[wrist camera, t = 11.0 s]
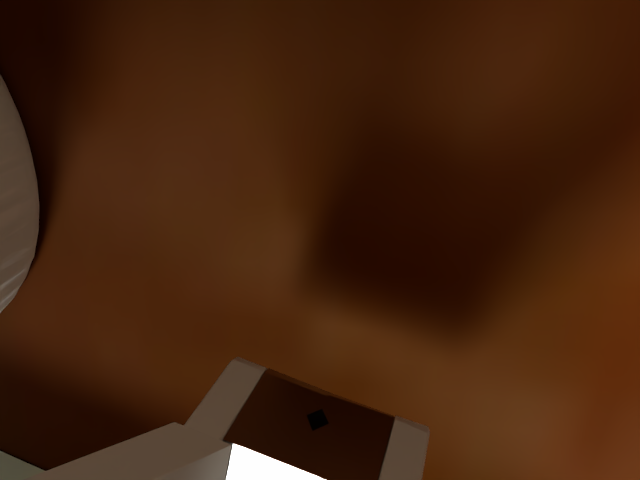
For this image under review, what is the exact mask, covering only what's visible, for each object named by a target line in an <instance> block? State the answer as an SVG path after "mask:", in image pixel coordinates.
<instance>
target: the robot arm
mask: <svg viewBox="0 0 640 480" xmlns="http://www.w3.org/2000/svg"><path fill="white" fill-rule="evenodd" d="M429 435H430V431H429V428H428V426H425V425H422V424H419V423H416V422H413V421H410V420H407V419H404V418H401V417H399V416H396V415H395V417H394V416H393V415H391V414H388V413H385V412H382V411H379V410H377V409H374V408H371V407H368V406H366V405H363V404H360V403H357V402H355V401H352V400H349V399H346V398H344V397H341V396H338V395H335V394H333V393H330V392H328V391H325V390H323V389H320V388H318V387H315V386H313V385H310V384H307V383H305V382H302V381H300V380H297V379H295V378H292V377H290V376H287V375H285V374H282V373H280V372H277V371H275V370H272V369H270V368H269V369H267V368H266V367H263V366H260V365H258V364H255V363H253V362H250V361H248V360H245V359H243V358H240V357H237V358H235V359H233V360H232V361H231V362H230V363H229V364H228V366H227V367H226V368H225V370H224V371H223V372H222V374H221V375H220V377H219V378H218V379H217V381H216V382H215V383H214V385H213V386H212V388H211V389H210V390H209V392H208V393H207V394H206V396H205V397H204V399H203V400H202V401H201V403H200V404H199V405H198V407H197V408H196V409H195V411H194V412H193V414H192V415H191V416H190V418H189V419H188V420H187V422H186V423H185V425H184V426H183V425H181V424H178V423H175V422H173V423H170V424H168V425H165V426H162V427H160V428H157V429H155V430H152V431H149V432H147V433H144V434H142V435H139V436H136V437H134V438H131V439H128V440H126V441H123V442H121V443H118V444H115V445H113V446H110V447H107V448H105V449H102V450H100V451H97V452H94V453H92V454H89V455H86V456H84V457H81V458H79V459H76V460H73V461H71V462H68V463H65V464H63V465H60V466H58V467H55V468H52V469H50V470H47V471H44V472H42V473H39V474H37V475H34V476H31V477H29V478H26V479H24V480H422V476H423V470H424V464H425V458H426V452H427V446H428V440H429Z"/></svg>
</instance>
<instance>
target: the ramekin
mask: <svg viewBox="0 0 640 480" xmlns="http://www.w3.org/2000/svg"><path fill="white" fill-rule="evenodd" d="M38 232H39V195H38V184H37V178H36V173H35V168H34V163H33V158H32V154H31V150H30V146H29V142H28V139H27V136H26V133H25V129H24V127H23V124H22V121H21V118H20V115H19V113H18V110H17V108H16V106H15V104H14V101H13V99H12V97H11V95H10V93H9V90H8V88H7V86H6V84H5V82H4V80H3V78H2V77H1V75H0V313H1V312H2V310H3V309H4V308H5V307H6V306H7V305H8V304H9V303H10V302H11V301H12V300H13V298H14V297H15V296H16V294H17V292H18V290H19V288H20V286H21V285H22V283H23V281H24V280H25V278H26V276H27V273H28V271H29V268H30V264H31V262H32V260H33V258H34V255H35V248H36V243H37V237H38Z"/></svg>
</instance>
